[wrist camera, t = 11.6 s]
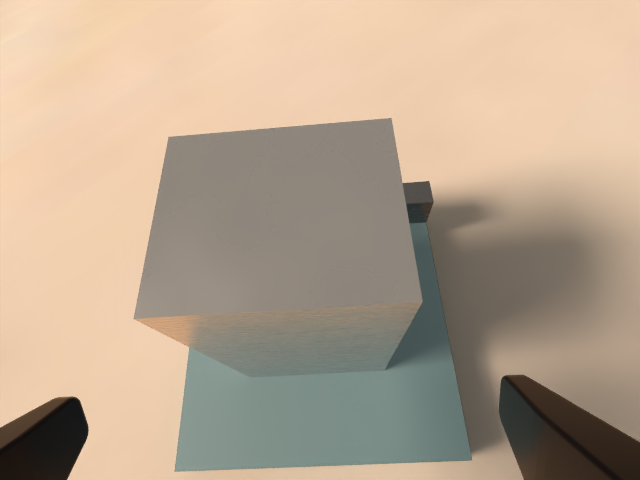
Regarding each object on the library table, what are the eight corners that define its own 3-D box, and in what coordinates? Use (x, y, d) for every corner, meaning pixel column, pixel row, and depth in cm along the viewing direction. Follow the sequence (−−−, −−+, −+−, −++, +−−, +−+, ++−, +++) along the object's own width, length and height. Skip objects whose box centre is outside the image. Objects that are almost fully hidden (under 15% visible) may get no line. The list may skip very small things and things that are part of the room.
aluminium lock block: (384, 370, 16) (422, 301, 7) (249, 377, 17) (133, 319, 8) (371, 260, 19) (390, 109, 10) (254, 268, 19) (170, 128, 10)
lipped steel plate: (462, 457, 16) (488, 464, 13) (188, 468, 17) (151, 477, 13) (417, 217, 21) (429, 181, 18) (213, 231, 22) (191, 199, 19)
